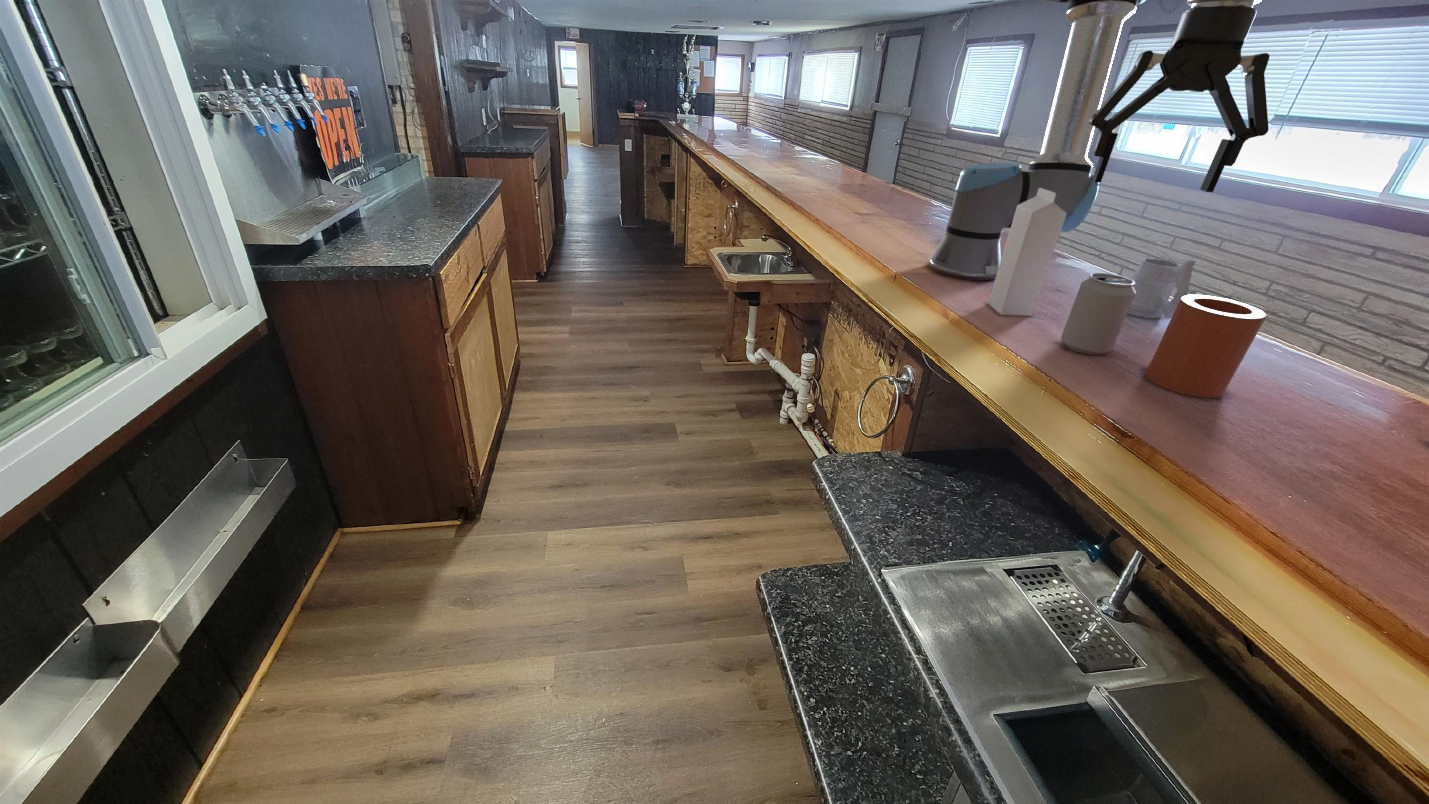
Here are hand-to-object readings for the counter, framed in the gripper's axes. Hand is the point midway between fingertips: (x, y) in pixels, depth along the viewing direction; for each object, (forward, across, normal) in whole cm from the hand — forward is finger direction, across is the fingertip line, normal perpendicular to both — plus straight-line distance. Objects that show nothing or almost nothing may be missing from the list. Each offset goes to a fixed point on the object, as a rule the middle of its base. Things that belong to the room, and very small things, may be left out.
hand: (1149, 186), depth 81 cm
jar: (+26, +12, -8) cm, 29 cm away
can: (+26, 0, 0) cm, 26 cm away
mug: (+26, +14, +24) cm, 38 cm away
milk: (+26, -11, +14) cm, 31 cm away
